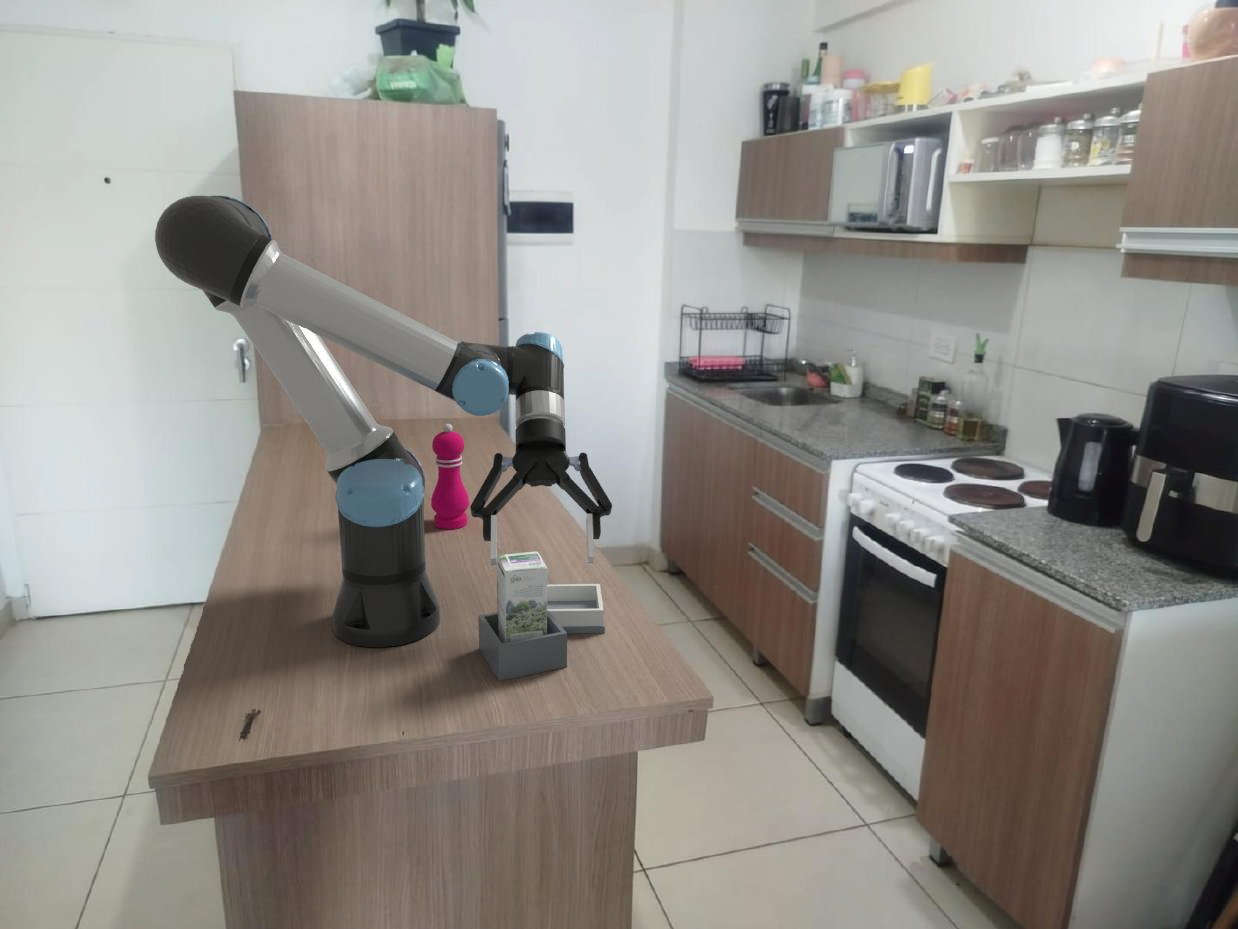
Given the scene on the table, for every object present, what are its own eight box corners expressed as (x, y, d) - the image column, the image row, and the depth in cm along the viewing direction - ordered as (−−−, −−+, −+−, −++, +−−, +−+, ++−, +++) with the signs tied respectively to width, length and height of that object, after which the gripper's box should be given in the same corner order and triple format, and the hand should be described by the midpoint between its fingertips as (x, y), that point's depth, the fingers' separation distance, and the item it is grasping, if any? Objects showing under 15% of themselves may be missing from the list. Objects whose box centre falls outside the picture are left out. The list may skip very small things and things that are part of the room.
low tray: (604, 632, 125) (605, 610, 124) (538, 634, 124) (538, 611, 123) (600, 604, 134) (600, 583, 133) (538, 605, 134) (538, 584, 133)
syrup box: (537, 644, 121) (537, 548, 117) (547, 665, 116) (547, 565, 112) (497, 650, 120) (495, 552, 116) (505, 671, 114) (504, 569, 110)
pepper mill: (461, 532, 163) (458, 429, 158) (425, 528, 164) (421, 426, 159) (475, 519, 170) (472, 420, 164) (440, 516, 171) (437, 418, 166)
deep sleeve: (499, 680, 112) (498, 646, 110) (479, 648, 120) (478, 615, 119) (566, 666, 116) (567, 633, 114) (542, 636, 124) (542, 604, 122)
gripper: (620, 438, 135) (628, 567, 126) (458, 439, 132) (454, 571, 123) (624, 415, 128) (633, 550, 119) (454, 415, 126) (450, 553, 116)
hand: (542, 561), depth 121 cm, fingers open, 13 cm apart
